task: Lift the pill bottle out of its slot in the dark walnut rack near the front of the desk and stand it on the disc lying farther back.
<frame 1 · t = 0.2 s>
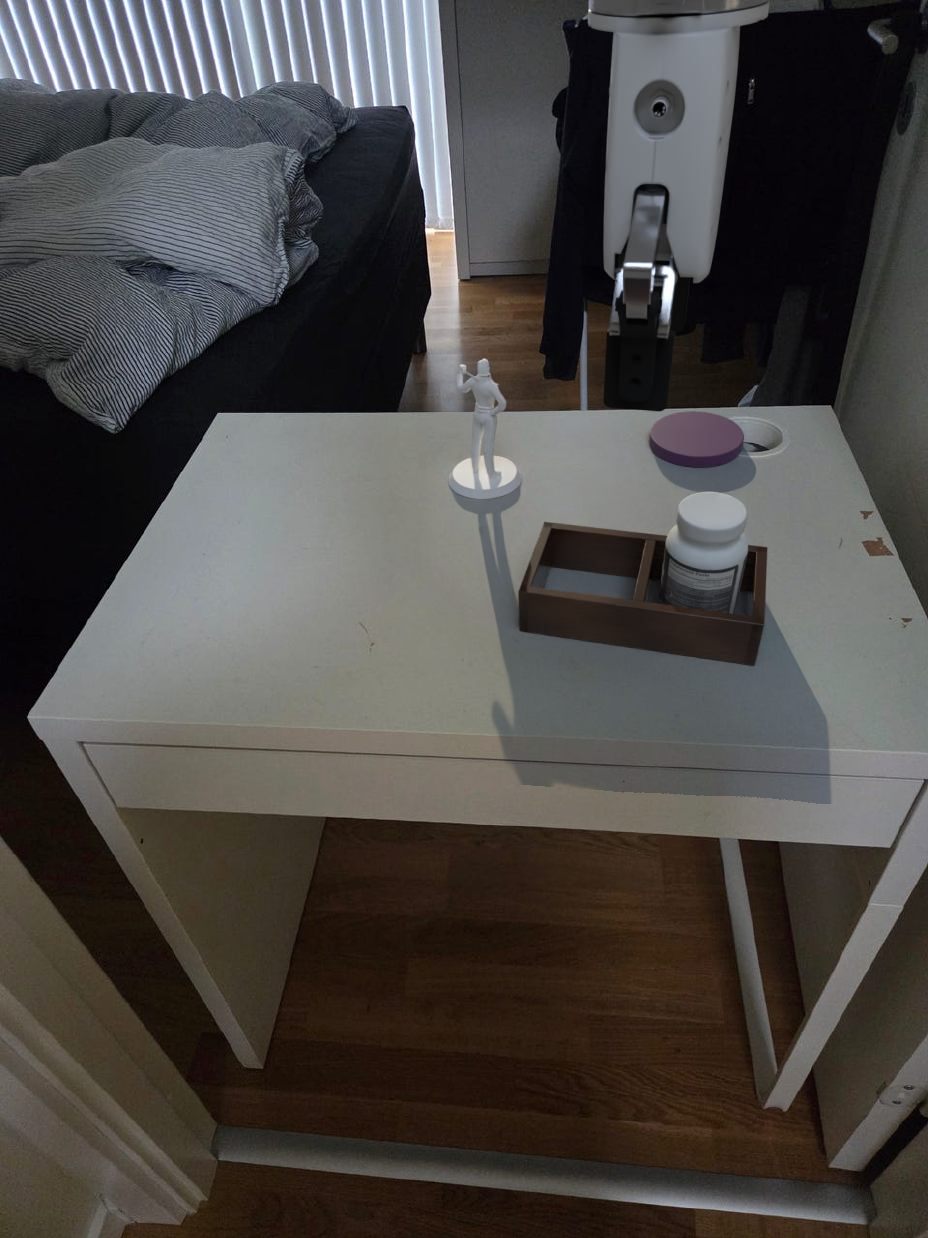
hand: (646, 365, 46), 23 cm above the table, tool pointing down, fingers open, 9 cm apart
pill bottle: (694, 618, 65), resting in rack
disc: (695, 443, 84), on the table
figurine: (485, 480, 81), on the table
rack: (640, 608, 66), on the table
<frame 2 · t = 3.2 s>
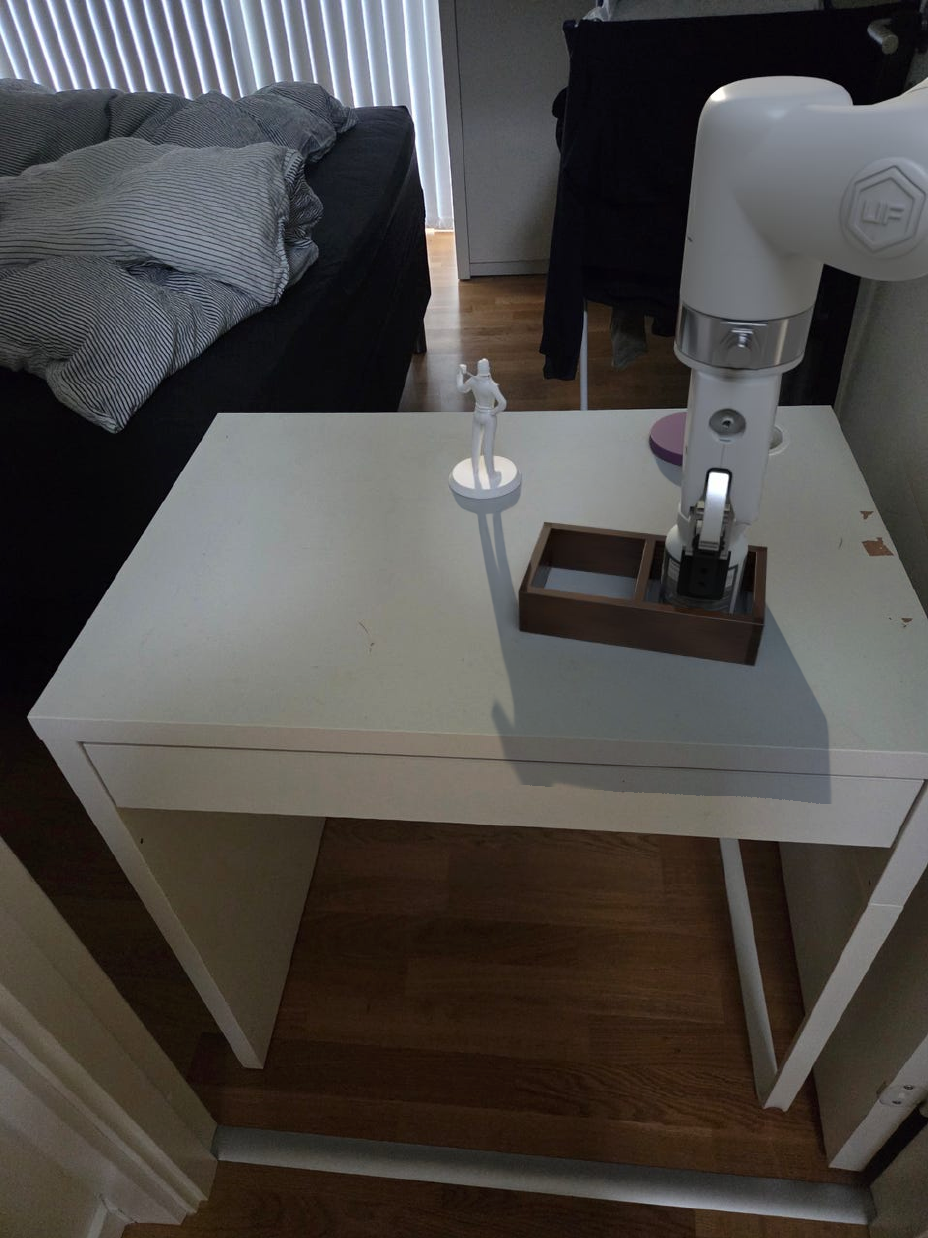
hand: (703, 565, 61), 5 cm above the table, tool pointing down, fingers closed on pill bottle, 5 cm apart
pill bottle: (694, 618, 65), resting in rack, touching gripper
everything else where it was.
when the fingers open (6 cm above the table, at t = 11.1 s): pill bottle stays where it is, resting on disc.
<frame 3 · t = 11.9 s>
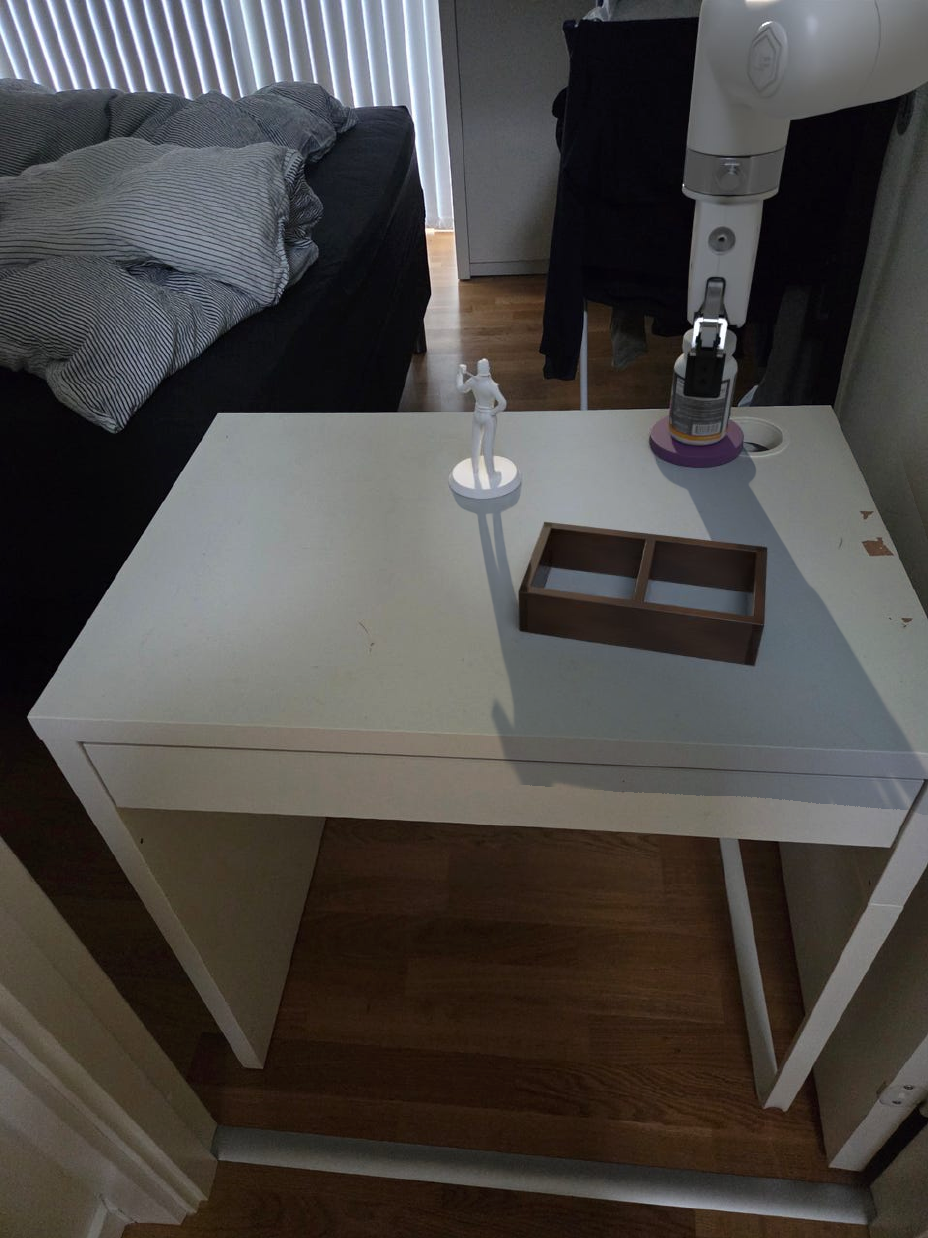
hand: (705, 371, 79), 8 cm above the table, tool pointing down, fingers open, 9 cm apart
pill bottle: (696, 435, 83), point 1 cm above the table, touching disc
everything else where it was.
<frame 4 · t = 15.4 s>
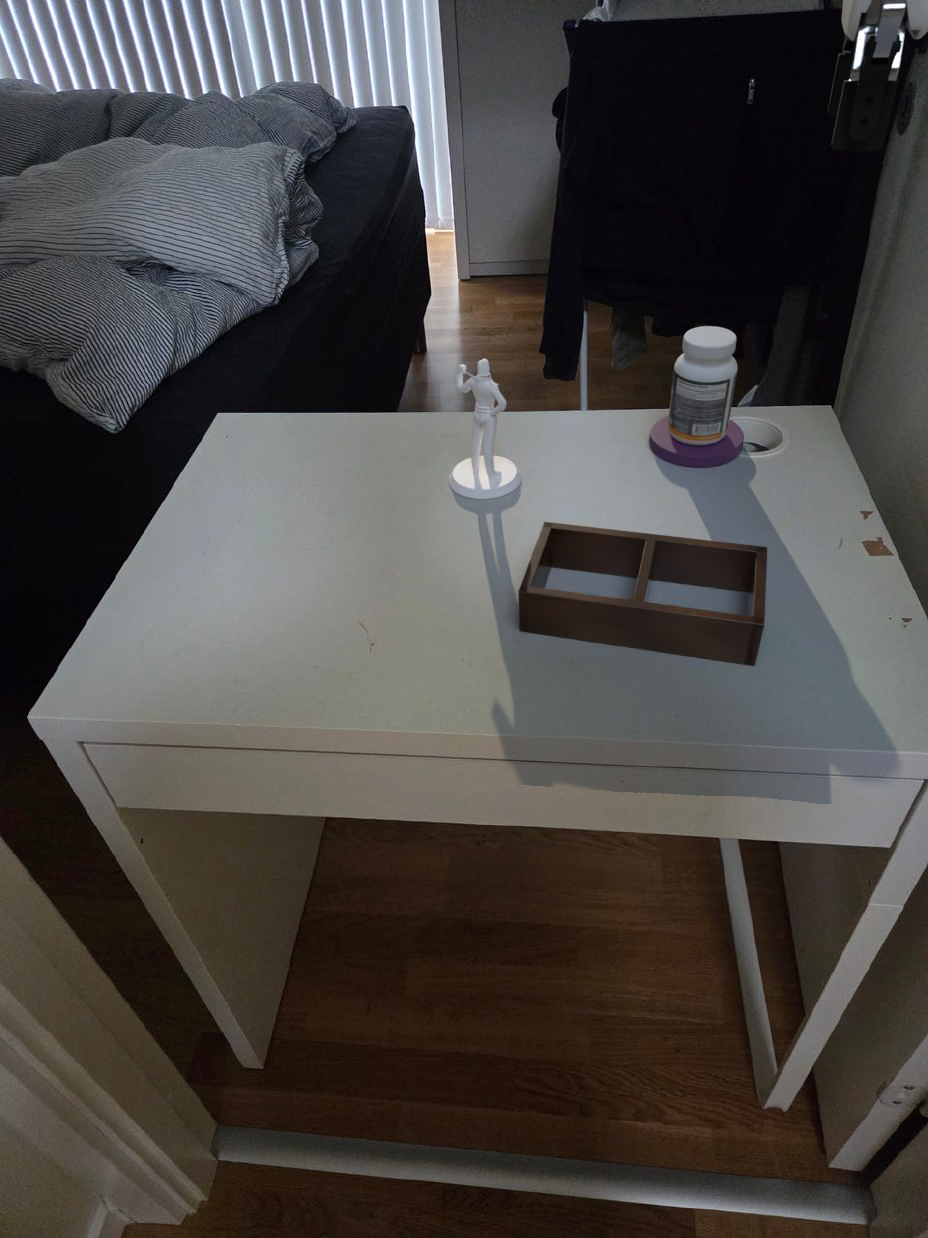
hand: (852, 131, 60), 28 cm above the table, tool pointing down, fingers open, 9 cm apart
nothing on the table moved.
at the end: pill bottle 0.1 cm off-centre on the disc, point 1.0 cm above the disc's base; pill bottle tilted 0° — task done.
